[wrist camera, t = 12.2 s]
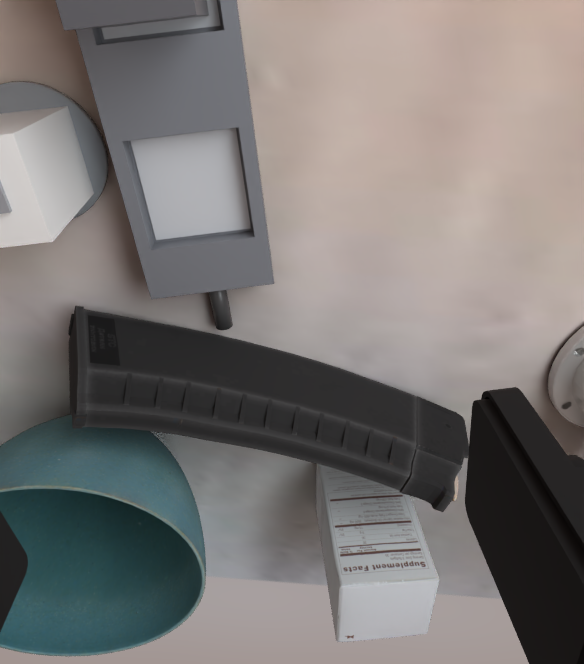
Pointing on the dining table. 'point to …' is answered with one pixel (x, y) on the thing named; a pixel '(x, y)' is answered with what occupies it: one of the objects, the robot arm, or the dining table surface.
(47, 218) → the block
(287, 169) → the dining table surface
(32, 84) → the slate coaster
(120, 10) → the block
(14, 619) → the teal bowl
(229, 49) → the power strip
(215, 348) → the magazine
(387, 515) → the supplement box
